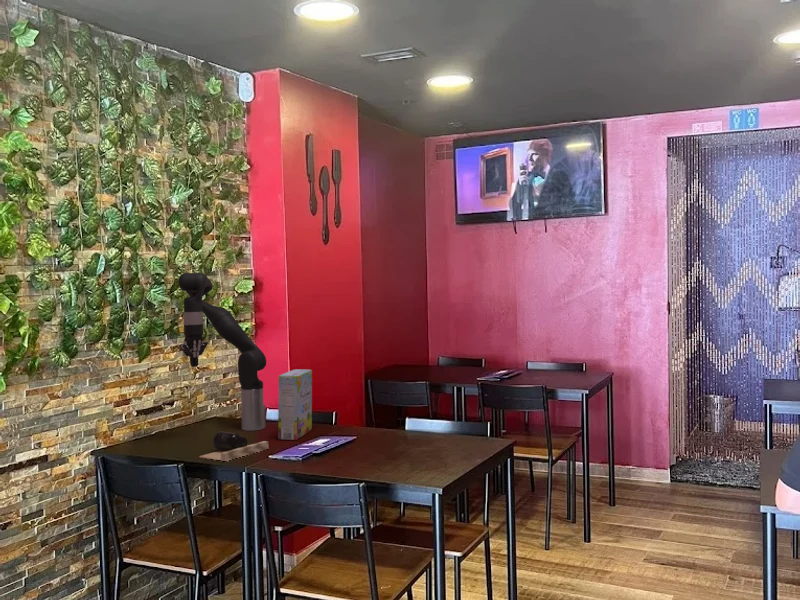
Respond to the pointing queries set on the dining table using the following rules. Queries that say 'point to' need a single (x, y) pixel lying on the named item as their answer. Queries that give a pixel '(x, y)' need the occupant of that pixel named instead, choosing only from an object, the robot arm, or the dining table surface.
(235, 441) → the supplement bottle
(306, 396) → the snack box
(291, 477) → the dining table surface
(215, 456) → the cork mat
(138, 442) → the dining table surface
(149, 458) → the dining table surface
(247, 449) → the rail
